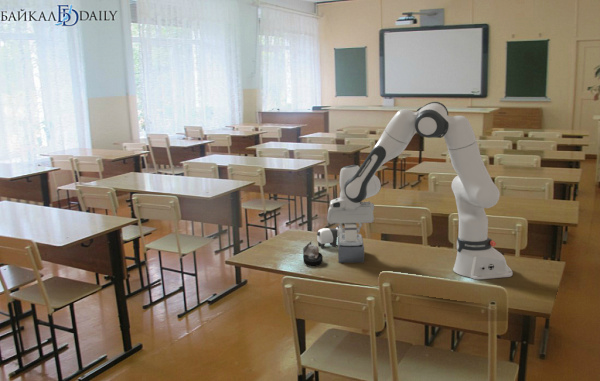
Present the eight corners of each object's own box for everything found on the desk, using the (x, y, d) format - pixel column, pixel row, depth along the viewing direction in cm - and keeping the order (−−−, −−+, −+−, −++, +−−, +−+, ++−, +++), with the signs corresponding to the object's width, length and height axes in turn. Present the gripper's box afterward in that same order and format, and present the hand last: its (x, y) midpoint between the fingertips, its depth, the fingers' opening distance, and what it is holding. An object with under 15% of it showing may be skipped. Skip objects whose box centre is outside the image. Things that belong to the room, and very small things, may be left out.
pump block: (356, 235, 241) (356, 220, 240) (357, 240, 233) (356, 225, 232) (344, 235, 242) (344, 220, 240) (345, 241, 234) (344, 225, 232)
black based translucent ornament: (316, 272, 229) (296, 265, 234) (329, 259, 237) (310, 253, 242) (316, 259, 226) (296, 253, 230) (329, 247, 234) (310, 240, 239)
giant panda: (319, 249, 251) (319, 229, 249) (315, 246, 256) (314, 226, 254) (348, 245, 256) (348, 225, 254) (343, 241, 261) (343, 222, 259)
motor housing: (362, 251, 246) (362, 233, 244) (364, 262, 232) (364, 243, 230) (338, 251, 247) (337, 233, 245) (338, 262, 232) (338, 243, 231)
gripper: (373, 199, 236) (373, 230, 239) (327, 200, 238) (327, 230, 241) (374, 203, 230) (374, 234, 233) (326, 204, 231) (327, 235, 234)
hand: (350, 232), depth 237 cm, fingers closed on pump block, 5 cm apart
